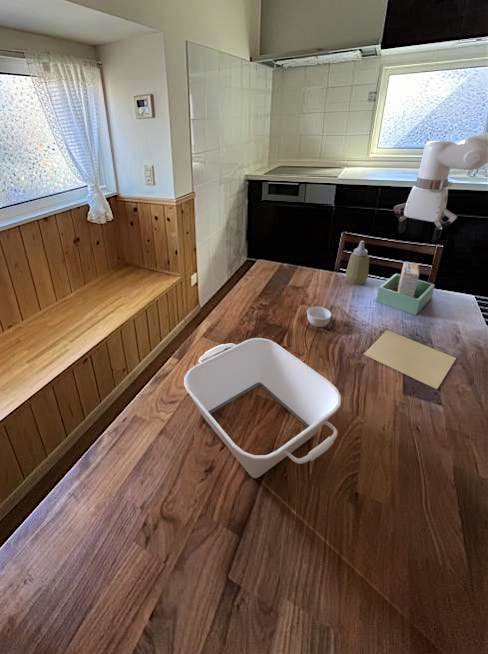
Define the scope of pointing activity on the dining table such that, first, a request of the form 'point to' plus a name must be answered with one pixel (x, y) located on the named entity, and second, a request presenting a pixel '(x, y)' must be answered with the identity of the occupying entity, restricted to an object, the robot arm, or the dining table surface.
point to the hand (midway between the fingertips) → (417, 235)
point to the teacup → (318, 316)
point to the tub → (278, 380)
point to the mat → (411, 358)
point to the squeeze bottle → (358, 266)
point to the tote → (403, 300)
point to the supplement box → (408, 279)
